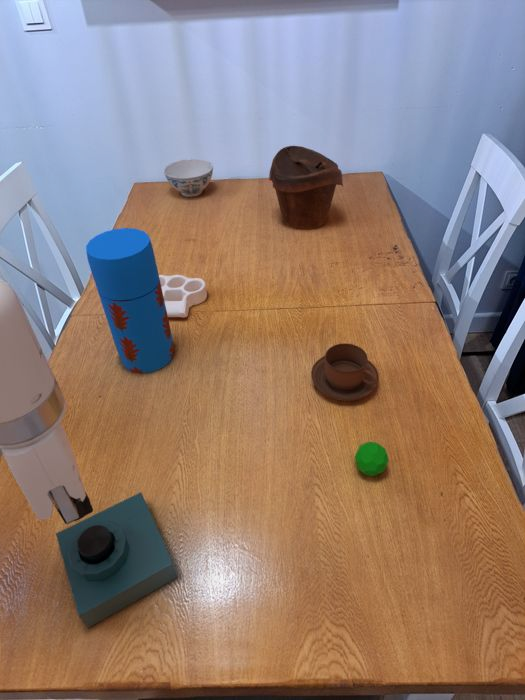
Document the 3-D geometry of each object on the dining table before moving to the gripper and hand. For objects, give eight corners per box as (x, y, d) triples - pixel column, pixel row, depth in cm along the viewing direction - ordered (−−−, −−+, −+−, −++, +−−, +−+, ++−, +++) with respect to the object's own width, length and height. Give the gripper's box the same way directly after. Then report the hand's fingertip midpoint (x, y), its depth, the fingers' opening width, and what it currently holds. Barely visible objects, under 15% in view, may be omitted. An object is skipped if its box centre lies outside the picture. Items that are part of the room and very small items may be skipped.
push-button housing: (88, 628, 60) (73, 609, 56) (65, 547, 68) (50, 525, 64) (178, 577, 64) (170, 555, 60) (146, 506, 72) (138, 483, 68)
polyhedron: (392, 468, 75) (397, 449, 72) (373, 487, 73) (376, 469, 70) (366, 449, 78) (369, 430, 75) (346, 467, 76) (349, 448, 72)
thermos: (111, 369, 95) (72, 256, 78) (134, 334, 102) (103, 225, 86) (163, 377, 92) (134, 263, 76) (183, 340, 100) (161, 230, 84)
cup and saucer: (382, 366, 92) (386, 342, 88) (370, 413, 84) (374, 388, 79) (320, 354, 95) (321, 329, 91) (303, 397, 87) (303, 372, 83)
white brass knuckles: (119, 321, 106) (135, 283, 117) (201, 321, 105) (210, 282, 116) (115, 309, 104) (132, 271, 115) (199, 308, 103) (208, 270, 114)
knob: (86, 569, 60) (81, 562, 58) (78, 542, 62) (73, 535, 61) (118, 553, 61) (114, 545, 60) (108, 527, 64) (104, 519, 62)
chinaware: (207, 204, 148) (203, 179, 143) (160, 201, 151) (156, 176, 146) (221, 183, 159) (219, 160, 154) (178, 181, 162) (174, 158, 157)
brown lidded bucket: (334, 238, 129) (338, 171, 117) (262, 230, 134) (258, 165, 122) (346, 209, 141) (351, 145, 129) (280, 202, 146) (279, 140, 135)
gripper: (-35, 372, 48) (32, 480, 60) (-16, 486, 38) (60, 587, 50) (43, 345, 50) (92, 453, 62) (81, 444, 40) (130, 549, 53)
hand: (78, 512), depth 56 cm, fingers closed
